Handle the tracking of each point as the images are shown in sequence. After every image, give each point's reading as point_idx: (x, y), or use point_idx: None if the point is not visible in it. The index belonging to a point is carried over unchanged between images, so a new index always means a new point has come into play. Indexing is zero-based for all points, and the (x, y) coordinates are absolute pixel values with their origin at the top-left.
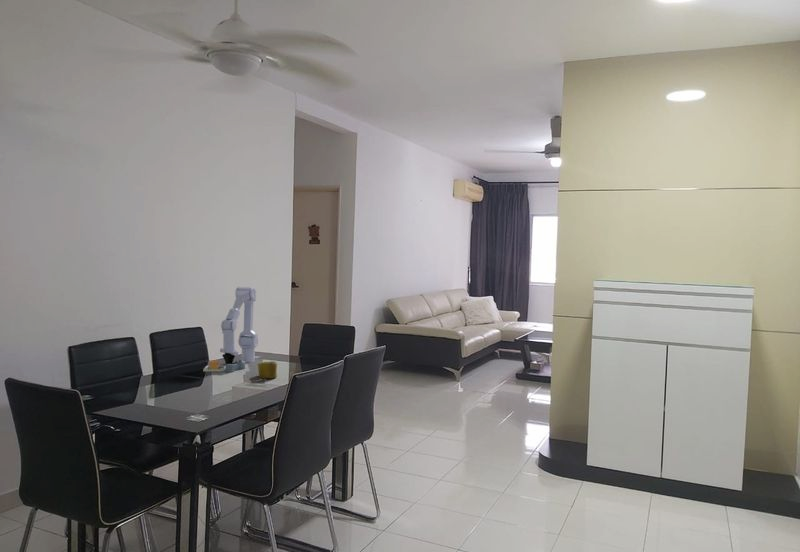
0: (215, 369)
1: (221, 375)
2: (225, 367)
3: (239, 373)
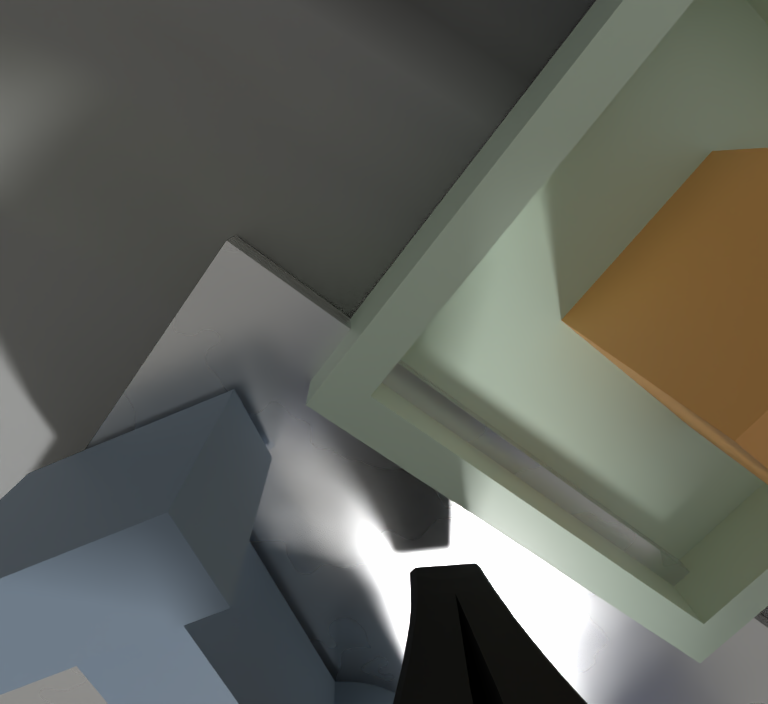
0: (475, 202)
1: (58, 165)
2: (204, 445)
3: None
